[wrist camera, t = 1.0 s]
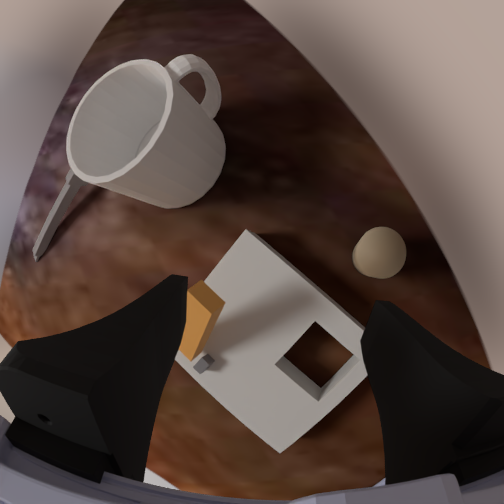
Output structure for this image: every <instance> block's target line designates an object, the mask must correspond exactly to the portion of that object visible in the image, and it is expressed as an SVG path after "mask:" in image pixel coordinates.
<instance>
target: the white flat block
mask: <svg viewBox="0 0 504 504" xmlns="http://www.w3.org/2000/svg"><path fill="white" fill-rule="evenodd" d="M204 282H205V283H206V284H207V285H208V286H209V287H210V288H211V289H212V290H213V291H214V292H215V293H216V294H217V295H218V296H219V297H220V298H221V299H222V300H224V301H225V302H226V303H225V305H224V307H223V309H222V311H221V313H220V315H219V317H218V319H217V322H216V324H215V326H214V328H213V330H212V332H211V334H210V336H209V338H208V340H207V342H206V344H205V346H204V348H203V350H202V352H201V353H200V354H199V355H198V356H197V357H196V358H195V359H194V360H192V361H190V360H189V359H188V358H187V357H186V356H185V355H184V354H183V353H182V352H181V351H180V350H178V352H177V355H176V357H175V360H176V361H177V362H178V363H179V364H180V365H181V366H182V367H183V368H184V369H185V370H186V371H187V372H188V373H189V374H190V375H191V376H192V377H193V378H194V379H195V380H196V381H197V382H198V383H199V384H200V385H201V386H203V387H204V388H205V389H206V390H207V391H208V392H209V393H210V394H211V395H212V396H213V397H214V398H215V399H216V400H217V401H219V402H220V403H221V404H222V405H223V406H224V407H225V408H226V409H227V410H229V411H230V412H231V413H232V414H233V415H234V416H235V417H236V418H238V419H239V420H240V421H241V422H242V423H243V424H245V425H246V426H247V427H248V428H249V429H250V430H252V431H253V432H254V433H255V434H256V435H258V436H259V437H260V438H261V439H263V440H264V441H265V442H266V443H268V444H269V445H270V446H271V447H273V448H274V449H275V450H276V451H278V452H279V453H281V452H282V451H284V450H285V449H286V448H287V447H289V446H290V445H291V444H292V443H294V442H295V441H296V440H297V439H299V438H300V437H301V436H302V435H303V434H305V433H306V432H307V431H308V430H309V429H311V428H312V427H313V426H314V425H315V424H316V423H318V422H319V421H320V420H321V419H322V418H323V417H324V416H325V415H327V414H328V413H329V412H330V411H331V410H332V409H333V408H334V407H335V406H336V405H338V404H339V403H340V402H341V401H342V400H343V399H344V398H345V397H346V396H347V395H348V394H349V393H350V392H351V391H352V390H353V389H354V388H355V387H356V386H357V385H358V384H359V383H360V382H361V381H362V380H363V379H364V378H365V377H366V376H367V372H366V368H365V365H364V362H363V356H362V350H361V344H360V340H361V337H362V335H363V332H364V330H365V327H364V326H363V325H362V324H360V323H359V322H358V321H357V320H356V319H355V318H354V317H352V316H351V315H350V314H349V313H348V312H347V311H346V310H344V309H343V308H342V307H341V306H340V305H339V304H338V303H336V302H335V301H334V300H333V299H332V298H331V297H329V296H328V295H327V294H326V293H325V292H324V291H323V290H321V289H320V288H319V287H318V286H317V285H316V284H314V283H313V282H312V281H311V280H310V279H309V278H307V277H306V276H305V275H304V274H303V273H302V272H300V271H299V270H298V269H297V268H296V267H295V266H293V265H292V264H291V263H290V262H289V261H288V260H286V259H285V258H284V257H283V256H282V255H281V254H279V253H278V252H277V251H276V250H275V249H273V248H272V247H271V246H270V245H269V244H268V243H266V242H265V241H264V240H263V239H262V238H260V237H259V236H258V235H257V234H256V233H253V232H251V231H249V230H245V231H244V232H243V233H242V235H241V236H240V237H239V238H238V240H237V241H236V242H235V243H234V245H233V246H232V247H231V248H230V250H229V251H228V252H227V253H226V255H225V256H224V257H223V258H222V260H221V261H220V262H219V263H218V265H217V266H216V267H215V268H214V270H213V271H212V272H211V273H210V275H209V276H208V277H207V279H206V280H205V281H204ZM315 321H316V322H317V323H318V324H319V325H320V326H322V327H323V328H324V329H325V330H326V331H327V332H328V333H330V334H331V335H332V336H333V337H334V338H335V339H336V340H338V341H339V342H340V343H341V344H342V345H343V346H345V347H346V348H347V349H348V350H349V351H350V352H352V353H353V354H354V355H353V356H352V357H351V358H350V359H349V360H348V361H347V362H346V363H345V364H344V365H343V367H342V368H341V369H340V370H339V371H338V372H337V373H336V374H335V375H334V376H333V377H332V378H331V379H330V380H329V381H328V382H327V383H326V384H325V385H324V386H323V387H322V388H320V387H319V386H318V385H317V384H315V383H314V382H313V381H312V380H311V379H309V378H308V377H307V376H306V375H305V374H304V373H302V372H301V371H300V370H299V369H298V368H297V367H295V366H294V365H293V364H292V363H291V362H290V361H289V360H287V359H286V358H285V357H284V356H283V355H284V354H285V353H286V352H287V351H288V350H289V349H290V348H291V347H292V346H293V344H294V343H295V342H296V341H297V340H298V339H299V338H300V337H301V336H302V335H303V334H304V333H305V331H306V330H307V329H308V328H309V327H310V326H311V325H312V324H313V323H314V322H315Z"/></svg>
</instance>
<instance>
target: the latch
mask: <svg viewBox="0 0 504 504" xmlns="http://www.w3.org/2000/svg"><path fill="white" fill-rule="evenodd" d="M225 303H226V302H225V301H224V300H222V299H221V298H220V297H219V296H218V295H217V294H216V293H215V292H214V291H213V290H212V289H211V288H210V287H209V286H208V285H207V284H206V283H205V282H203V281H202V280H201V281H199V282H198V283H196V284H195V285H194V286H192V287H191V288H189V289H188V290H187V315H186V325H185V329H184V333H183V337H182V341H181V344H180V347H179V350H180V351H181V352H182V353H183V354H184V355H185V356H186V357H187V358H188V359H189V360H190V361H192V360H194V359H195V358H196V357H197V356H198V355H199V354H200V353H201V352H202V350H203V348H204V346H205V344H206V342H207V340H208V338H209V336H210V334H211V332H212V330H213V328H214V326H215V324H216V322H217V319H218V317H219V315H220V313H221V311H222V309H223V307H224V305H225Z"/></svg>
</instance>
